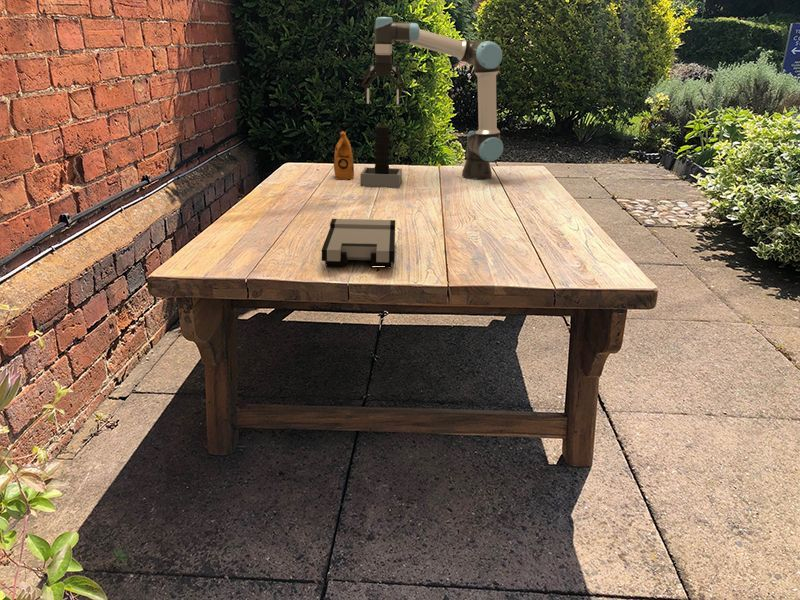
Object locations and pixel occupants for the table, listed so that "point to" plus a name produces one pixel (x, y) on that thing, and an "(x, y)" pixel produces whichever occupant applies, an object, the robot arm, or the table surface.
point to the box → (381, 178)
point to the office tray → (359, 242)
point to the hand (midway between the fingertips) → (382, 104)
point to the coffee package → (343, 159)
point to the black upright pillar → (382, 149)
